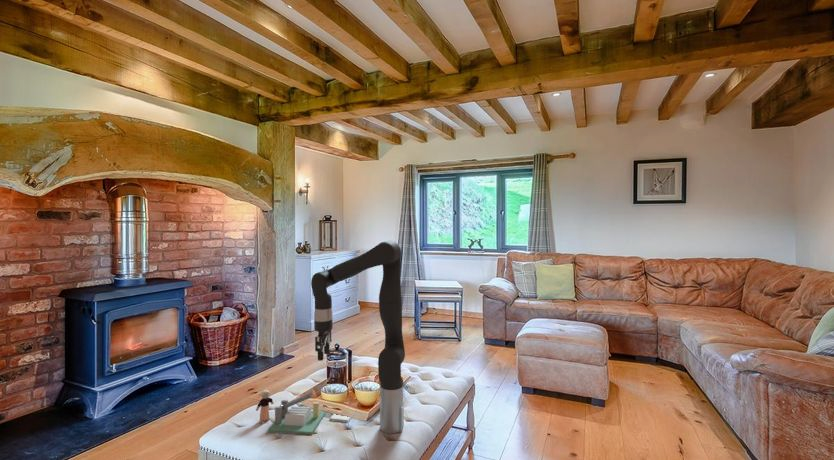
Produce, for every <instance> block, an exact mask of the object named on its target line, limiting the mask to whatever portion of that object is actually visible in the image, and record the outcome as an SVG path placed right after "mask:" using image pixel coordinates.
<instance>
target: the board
mask: <svg viewBox="0 0 834 460" xmlns="http://www.w3.org/2000/svg"><path fill="white" fill-rule="evenodd" d="M287 402H289V400H288V399H281V401H280V403H281V404H282V403H287ZM281 404H280V405H281ZM312 404H313V405H312V407H313V408H312V409H311V407H310V406H307V407H306V406H294V405H293V406H290V408H289V407H288V408H286V409H283V410H282V407H279V406H275V408H274V421H273V423H272V424H271V425H270V427H268V429H267V433H277V434H278V433H281V434H293V433H298V434H297V435H313V434H314V433H315V431H316V429H318V427H319V425H320V423H321V422H322V420H323V419H324V417H325V416H326V411H320V401H314V402H313V403H312Z"/></svg>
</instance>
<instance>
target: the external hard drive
mask: <svg viewBox="0 0 834 460" xmlns="http://www.w3.org/2000/svg"><path fill="white" fill-rule="evenodd" d="M350 420H352V418H351V417H347V416H341V415H336V414H334V413H333V414H331V417H330V418H329V421H335V422H341V423H342V422H343V423H349V421H350Z"/></svg>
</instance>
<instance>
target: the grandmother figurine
mask: <svg viewBox="0 0 834 460" xmlns="http://www.w3.org/2000/svg"><path fill="white" fill-rule="evenodd" d="M269 395H270V391H269V390H268V389H264V390H262V391H261V392H260V397H262V398H261V399H260V401H259V402H258V404H257V406H256V408H255V411H257V412H258V411H259V410H260V411H259V412H260V413H259V420H258V422H260V423H259V424H263V422H264V423H265V422H268V421H270V420H271V418H270V411H269V410H270V404H271V405H274V400H273V398H271V397H269Z"/></svg>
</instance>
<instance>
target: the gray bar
mask: <svg viewBox="0 0 834 460" xmlns="http://www.w3.org/2000/svg"><path fill="white" fill-rule="evenodd" d="M313 392H314V391H313V389H312V390H310V391H308V392H306V394H304V395H301V396H299V397H296V398H294V399H292V400H290V401H288V402H287V403H282V404H280V405H279V406H278V407H282V410H283V409H286V408H288V409H289V408H291V407H292V406H293V407H294V406H295V405H297V404H299V403H302V402H304V401H306V400H309V399H311V398H312V397H313V396H314V393H313Z"/></svg>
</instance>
